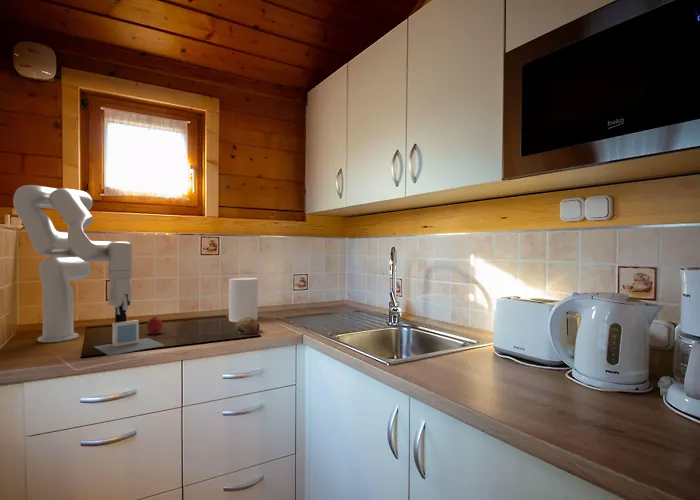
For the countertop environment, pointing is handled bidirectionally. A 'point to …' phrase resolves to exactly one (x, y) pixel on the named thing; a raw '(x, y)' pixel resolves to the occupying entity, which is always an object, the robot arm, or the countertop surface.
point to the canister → (243, 298)
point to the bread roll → (247, 326)
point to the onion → (154, 325)
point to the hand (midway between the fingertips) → (120, 324)
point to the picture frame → (125, 332)
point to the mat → (129, 346)
